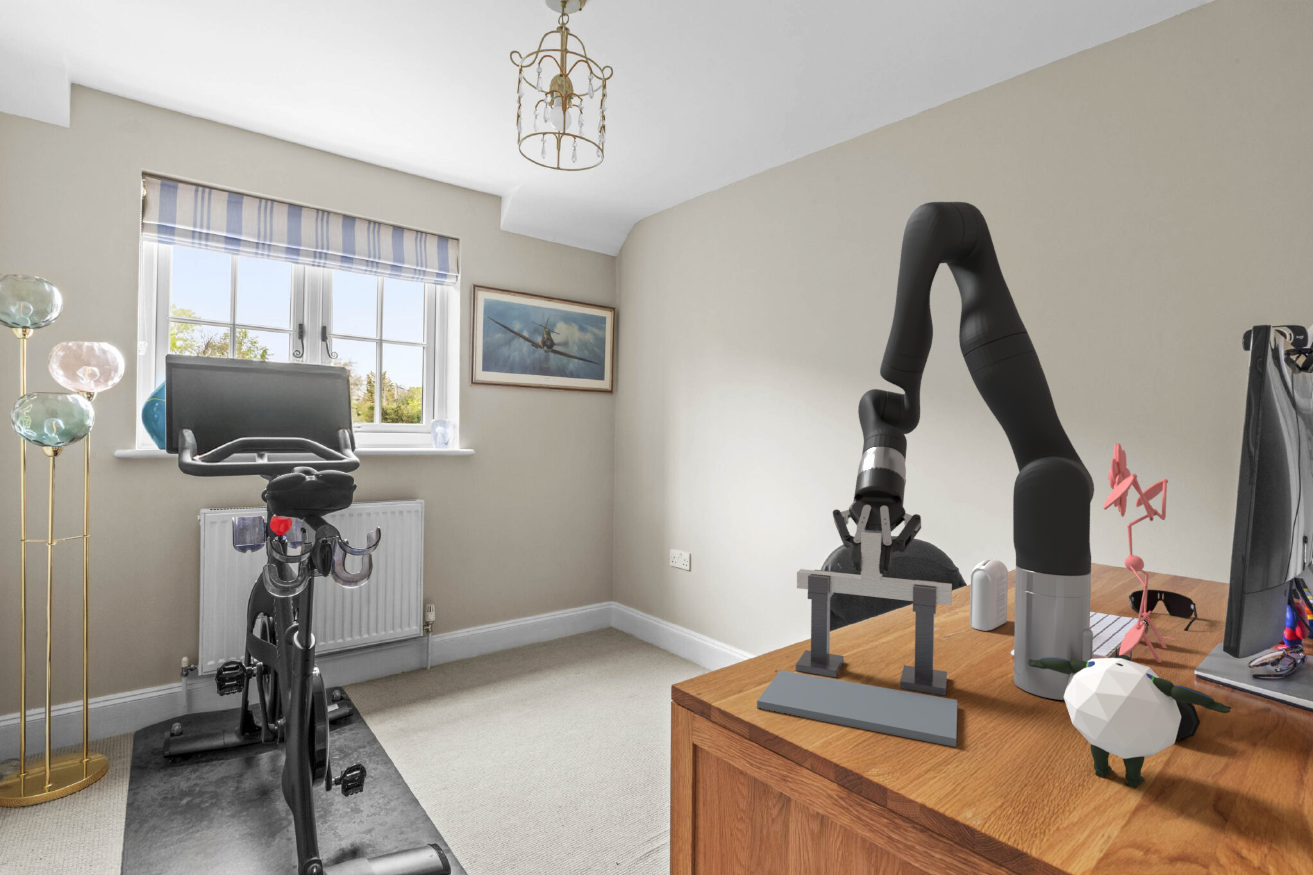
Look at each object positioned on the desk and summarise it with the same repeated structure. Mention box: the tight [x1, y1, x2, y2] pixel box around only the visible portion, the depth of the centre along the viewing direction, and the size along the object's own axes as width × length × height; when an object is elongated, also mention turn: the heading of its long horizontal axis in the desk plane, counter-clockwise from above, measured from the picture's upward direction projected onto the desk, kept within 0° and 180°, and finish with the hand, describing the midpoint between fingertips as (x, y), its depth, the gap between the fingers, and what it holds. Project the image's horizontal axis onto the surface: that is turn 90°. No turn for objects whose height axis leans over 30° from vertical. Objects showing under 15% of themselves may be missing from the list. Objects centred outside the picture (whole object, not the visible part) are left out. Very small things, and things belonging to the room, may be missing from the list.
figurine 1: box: [1103, 443, 1176, 663], centre depth 113 cm, size 15×26×35 cm, turn 138°
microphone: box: [1175, 700, 1201, 741], centre depth 86 cm, size 6×6×20 cm
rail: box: [796, 530, 953, 606], centre depth 99 cm, size 22×2×10 cm, turn 65°
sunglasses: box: [1128, 589, 1198, 632], centre depth 128 cm, size 10×12×5 cm
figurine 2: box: [1028, 647, 1233, 788], centre depth 71 cm, size 18×10×13 cm, turn 44°
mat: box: [756, 670, 958, 748], centre depth 87 cm, size 24×12×1 cm, turn 65°
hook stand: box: [795, 569, 948, 696], centre depth 99 cm, size 21×7×14 cm, turn 65°
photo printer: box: [969, 558, 1009, 632], centre depth 124 cm, size 10×4×12 cm, turn 134°
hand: (870, 569), depth 97 cm, fingers closed on rail, 2 cm apart
